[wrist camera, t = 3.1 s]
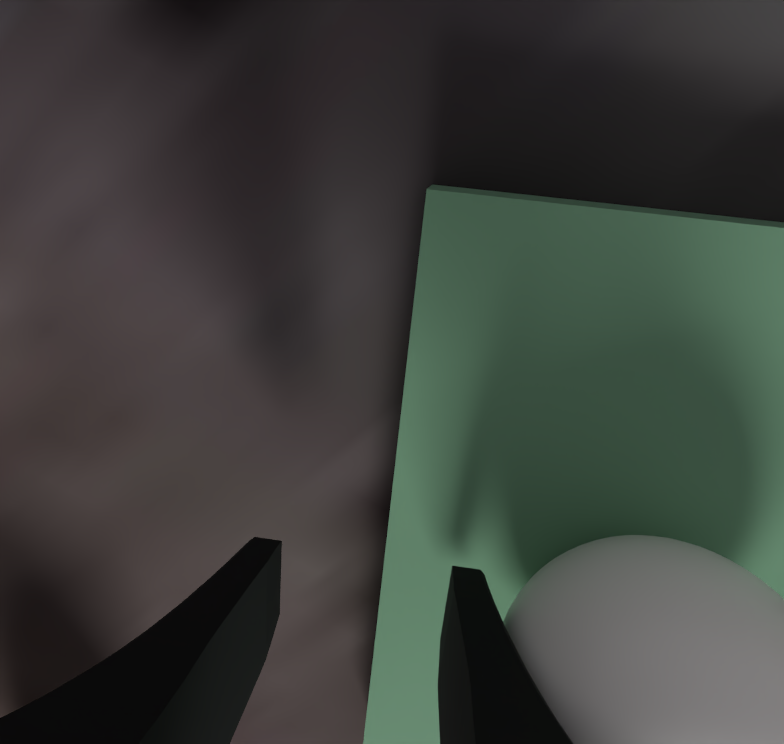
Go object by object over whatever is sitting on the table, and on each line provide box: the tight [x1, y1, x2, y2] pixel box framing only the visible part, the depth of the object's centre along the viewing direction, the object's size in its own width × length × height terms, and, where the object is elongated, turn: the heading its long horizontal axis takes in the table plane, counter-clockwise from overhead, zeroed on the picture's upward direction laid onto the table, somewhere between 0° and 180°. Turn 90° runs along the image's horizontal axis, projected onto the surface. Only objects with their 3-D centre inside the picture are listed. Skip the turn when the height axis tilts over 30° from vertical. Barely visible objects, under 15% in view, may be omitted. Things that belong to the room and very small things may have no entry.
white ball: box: [503, 535, 784, 744], centre depth 11 cm, size 6×6×6 cm
